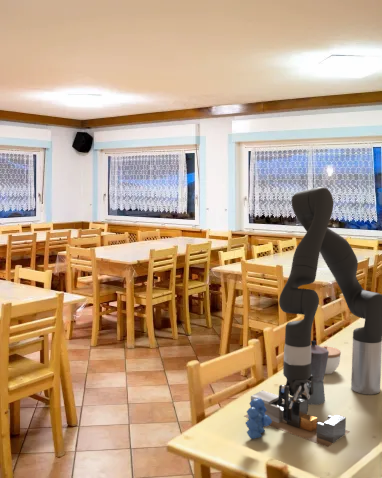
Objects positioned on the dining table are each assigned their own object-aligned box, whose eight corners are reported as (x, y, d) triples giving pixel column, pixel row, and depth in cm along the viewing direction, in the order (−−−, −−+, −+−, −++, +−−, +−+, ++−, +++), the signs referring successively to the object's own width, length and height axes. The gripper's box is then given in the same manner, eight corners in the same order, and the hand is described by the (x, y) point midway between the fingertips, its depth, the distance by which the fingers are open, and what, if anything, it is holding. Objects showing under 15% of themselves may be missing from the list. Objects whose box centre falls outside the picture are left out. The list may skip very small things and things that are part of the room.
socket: (329, 429, 150) (329, 412, 149) (345, 434, 147) (345, 417, 146) (316, 437, 145) (316, 420, 144) (332, 443, 142) (333, 425, 141)
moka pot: (329, 397, 176) (330, 336, 174) (324, 416, 161) (326, 350, 159) (299, 393, 179) (300, 333, 177) (292, 411, 165) (293, 347, 162)
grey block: (263, 408, 163) (263, 385, 162) (317, 427, 151) (318, 402, 150) (255, 412, 160) (255, 389, 159) (310, 432, 148) (310, 407, 147)
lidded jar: (343, 369, 202) (344, 344, 201) (334, 378, 193) (335, 352, 192) (315, 364, 208) (316, 340, 207) (305, 372, 199) (306, 347, 198)
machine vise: (267, 408, 167) (268, 387, 166) (349, 436, 149) (350, 413, 148) (243, 421, 158) (244, 398, 157) (327, 452, 140) (328, 427, 139)
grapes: (265, 453, 139) (266, 408, 138) (240, 448, 142) (241, 403, 141) (277, 434, 150) (278, 392, 149) (253, 429, 153) (254, 388, 151)
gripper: (299, 351, 159) (297, 404, 160) (271, 362, 148) (269, 419, 150) (322, 356, 154) (320, 412, 155) (294, 369, 143) (293, 428, 145)
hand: (295, 415), depth 153 cm, fingers open, 8 cm apart
